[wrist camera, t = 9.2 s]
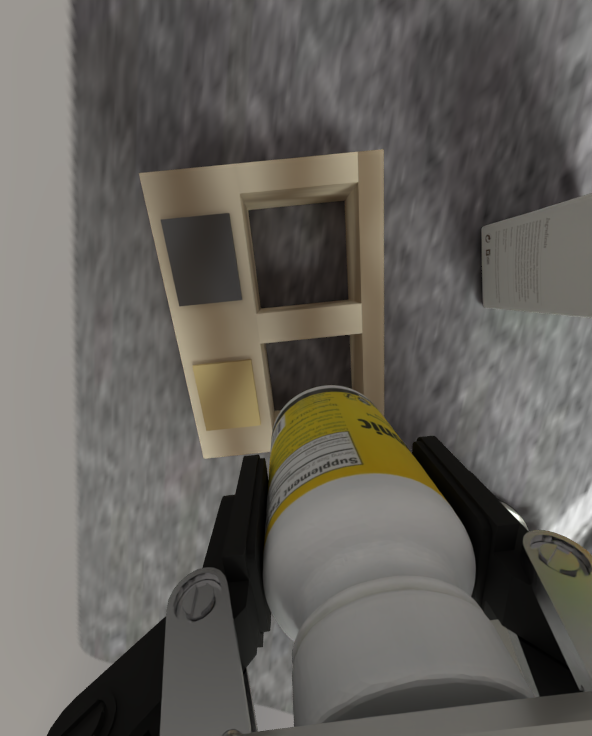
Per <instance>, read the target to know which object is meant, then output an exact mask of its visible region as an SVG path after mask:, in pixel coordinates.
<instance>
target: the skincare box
mask: <svg viewBox="0 0 592 736" xmlns="http://www.w3.org/2000/svg"><path fill="white" fill-rule="evenodd" d="M481 235H482V289H483V307H484V308H491V309H503V310H513V311H524V312H535V313H545V314H556V315H566V316H576V317H587V318H592V193H591V194H587V195H584V196H581V197H577V198H574V199H571V200H568V201H564V202H561V203H558V204H555V205H551V206H548V207H545V208H542V209H539V210H536V211H533V212H529V213H526V214H523V215H519V216H516V217H512V218H509V219H506V220H502V221H499V222H496V223H492V224H489V225H486V226H483V227H482V230H481Z"/></svg>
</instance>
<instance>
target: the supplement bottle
mask: <svg viewBox="0 0 592 736" xmlns="http://www.w3.org/2000/svg"><path fill="white" fill-rule="evenodd" d="M475 573H476V563H475V555H474V551H473V546H472V544H471V541H470V538H469V536H468V533H467V531H466V529H465V527H464V525H463V524H462V522H461V521H460V519H459V518H458V516H457V515H456V513H455V512H454V510H453V508H452V507H451V506H450V504H449V503H448V502H447V500H446V499H445V498H444V496H443V495H442V494H441V492H440V491H439V490H438V488H437V487H436V485H435V484H434V483H433V481H432V480H431V479H430V477H429V476H428V475H427V473H426V472H425V470H424V469H423V468H422V466H421V465H420V464H419V462H418V461H417V460H416V458H415V457H414V456H413V455H412V453H411V452H410V450H409V449H408V448H407V447H406V445H405V444H404V443H403V442H402V440H401V439H400V437H399V436H398V435H397V434H396V432H395V431H394V430H393V428H392V427H391V426H390V424H389V423H388V422H387V420H386V419H385V418H384V417H383V415H382V414H381V413H380V411H379V410H378V409H377V407H376V406H375V405H374V404H373V403H372V402H371V401H370V400H369V399H368V398H367V397H365V396H364V395H362V394H361V393H359V392H357V391H355V390H353V389H350V388H347V387H343V386H336V385H326V386H319V387H315V388H312V389H309V390H306V391H304V392H302V393H300V394H299V395H297V396H295V397H294V398H293V399H291V400H290V401H289V402H288V403H287V404H286V405H285V406H284V407H283V409H282V410H281V412H280V413H279V415H278V417H277V419H276V421H275V423H274V427H273V431H272V438H271V451H270V466H269V481H268V495H267V509H266V523H265V538H264V550H263V587H264V593H265V597H266V600H267V603H268V606H269V608H270V611H271V613H272V615H273V617H274V619H275V620H276V622H277V624H278V625H279V626H280V628H281V629H282V630H283V632H284V633H285V634H286V635H287V636H288V637H289V638H290V639H291V640H293V641H294V646H293V650H292V663H293V671H292V685H293V710H294V727H298V726H306V725H314V724H321V723H329V722H337V721H345V720H353V719H361V718H369V717H376V716H385V715H393V714H401V713H409V712H418V711H426V710H434V709H442V708H450V707H459V706H467V705H476V704H484V703H492V702H501V701H509V700H518V699H526V698H535V695H534V693H533V692H532V690H531V688H530V687H529V685H528V683H527V682H526V680H525V678H524V677H523V675H522V673H521V672H520V670H519V668H518V667H517V665H516V663H515V662H514V660H513V658H512V657H511V655H510V653H509V652H508V650H507V648H506V647H505V645H504V643H503V642H502V640H501V638H500V636H499V634H498V632H497V630H496V628H495V627H494V625H493V624H492V622H491V621H490V620H489V619H488V617H487V616H486V615H485V614H484V612H483V610H482V609H481V608H480V606H479V605H478V604H477V603H476V601H475V600H474V599H473V598H472V597H471V596H472V592H473V588H474V584H475Z"/></svg>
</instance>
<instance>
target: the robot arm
mask: <svg viewBox="0 0 592 736" xmlns="http://www.w3.org/2000/svg"><path fill="white" fill-rule="evenodd" d="M412 455H413V456H414V457H415V458H416V460H417V461H418V462H419V464H420V465H421V466H422V468H423V469H424V470H425V472H426V473H427V475H428V476H429V477H430V479H431V480H432V481H433V483H434V484H435V485H436V487H437V488H438V490H439V491H440V492H441V494H442V495H443V496H444V498H445V499H446V500H447V502H448V503H449V504H450V506H451V507H452V508H453V510H454V512H455V513H456V515H457V516H458V518H459V519H460V521H461V522H462V524H463V525H464V527H465V529H466V531H467V533H468V536H469V538H470V541H471V544H472V546H473V551H474V555H475V563H476V573H475V584H474V588H473V592H472V596H471V597H472V598H473V599H474V600H475V601H476V603H477V604H478V605H479V606H480V608H481V609H482V610H483V612H484V614H485V615H486V616H487V617H488V619H489V620H490V621H491V622H492V624H493V625H494V627H495V628H496V630H497V632H498V634H499V636H500V638H501V640H502V642H503V643H504V645H505V647H506V648H507V650H508V652H509V653H510V655H511V657H512V658H513V660H514V662H515V663H516V665H517V667H518V668H519V670H520V672H521V673H522V675H523V677H524V678H525V680H526V682H527V683H528V685H529V687H530V688H531V690H532V692H533V693H534V695H535V698H526V699H518V700H509V701H501V702H492V703H484V704H476V705H467V706H459V707H450V708H442V709H434V710H426V711H418V712H409V713H401V714H393V715H385V716H376V717H369V718H361V719H353V720H345V721H337V722H329V723H321V724H314V725H306V726H298V727H290V728H282V729H274V730H267V731H260V732H258V728H257V723H256V716H255V710H254V704H253V698H252V692H251V686H250V681H249V675H248V669H247V666H248V665H249V663H250V662H251V661H252V660H253V658H254V657H255V656H256V654H257V648H258V647H263V634H264V632H267V631H270V626H271V611H270V608H269V606H268V603H267V600H266V597H265V593H264V587H263V550H264V538H265V523H266V509H267V495H268V474H267V468H266V461H265V458H261V459H260V456H259V455H251V456H244V458H243V462H242V467H241V471H240V476H239V480H238V485H237V489H236V494H235V495H228V496H223V498H222V500H221V503H220V507H219V510H218V514H217V518H216V521H215V525H214V528H213V532H212V536H211V539H210V543H209V546H208V550H207V553H206V557H205V561H204V564H203V568H201V569H197V570H195V571H193V572H192V573H190V574H188V575H187V576H186V577H184V578H183V579H182V580H181V581H180V582H179V583H178V585H177V586H176V587H175V588H174V590H173V592H172V594H171V596H170V598H169V600H168V605H167V610H166V617H165V618H163V619H162V620H161V621H160V622H159V623H158V624H157V625H156V626H155V627H153V628H152V629H151V630H150V631H149V632H148V633H147V634H146V635H145V636H143V637H142V638H141V639H140V640H139V641H138V642H137V643H136V644H135V645H133V646H132V647H131V648H130V649H129V650H128V651H127V652H126V653H125V654H123V655H122V656H121V657H120V658H119V659H118V660H117V661H116V662H115V663H114V664H112V665H111V666H110V667H109V668H108V669H107V670H106V671H105V672H104V673H103V674H101V675H100V676H99V677H98V678H97V679H96V680H95V681H94V682H93V683H91V684H90V685H89V686H88V687H87V688H86V689H85V690H84V691H83V692H82V693H80V694H79V695H78V696H77V697H76V698H75V699H74V700H73V701H72V702H71V703H70V704H69V705H68V706H67V707H66V708H65V709H64V711H63V712H62V713H61V715H60V716H59V717H58V719H57V720H56V721H55V723H54V724H53V726H52V727H51V728H50V730H49V732H48V734H47V736H592V555H591V554H590V553H589V552H588V551H587V550H585V549H584V548H583V547H581V546H580V545H579V544H577V543H576V542H574V541H572V540H570V539H569V538H567V537H564V536H562V535H559V534H557V533H554V532H550V531H545V530H533V531H530V532H529V531H528V528H527V525H526V524H525V522H524V520H523V519H522V518H521V517H520V516H519V514H518V513H517V512H516V511H515V510H514V509H512V508H511V507H510V506H508V505H507V504H505V503H503V502H501V501H499V500H498V499H497V498H496V497H495V496H494V495H493V494H492V493H491V492H490V491H489V490H488V489H487V488H486V487H485V486H484V485H483V484H482V483H481V482H480V481H479V480H478V479H477V477H476V476H475V475H474V474H473V473H471V472H470V471H469V470H467V469H466V468H465V467H464V466H463V464H462V463H461V462H460V461H459V460H458V459H457V458H456V457H455V456H454V455H453V454H452V453H451V452H450V451H449V450H448V449H447V448H446V447H445V446H444V445H443V444H442V443H441V442H440V441H439V440H438V439H437V438H436V437H435V436H426V437H419V438H418V439H417V442H413V450H412Z"/></svg>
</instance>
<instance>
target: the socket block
mask: <svg viewBox="0 0 592 736" xmlns="http://www.w3.org/2000/svg"><path fill="white" fill-rule="evenodd" d="M139 176H140V181H141V185H142V189H143V194H144V198H145V203H146V207H147V211H148V216H149V220H150V224H151V229H152V233H153V238H154V242H155V246H156V251H157V255H158V260H159V264H160V268H161V273H162V277H163V281H164V286H165V290H166V295H167V299H168V303H169V308H170V312H171V317H172V321H173V325H174V330H175V334H176V338H177V343H178V347H179V352H180V356H181V360H182V365H183V369H184V374H185V378H186V382H187V387H188V391H189V395H190V400H191V404H192V409H193V413H194V417H195V422H196V426H197V431H198V435H199V439H200V444H201V448H202V452H203V457H204V459H206V458H216V457H225V456H234V455H244V454H253V453H263V452H270V451H271V438H272V431H273V427H274V423H275V421H276V419H277V417H278V415H279V413H280V412H281V410H277V411H274V403H273V396H272V388H271V380H270V373H269V365H268V358H267V350H266V343H272V342H282V341H292V340H302V339H311V338H321V337H331V336H340V335H350V353H351V379H352V389H353V390H355V391H357V392H359V393H361V394H362V395H364V396H365V397H367V398H368V399H369V400H370V401H371V402H372V403H373V404H374V405H375V406H376V407H377V409H378V410H379V411H380V413H381V414H382V415H383V417H384V149H381V150H371V151H361V152H350V153H340V154H330V155H320V156H309V157H299V158H289V159H279V160H268V161H258V162H248V163H238V164H228V165H217V166H207V167H197V168H187V169H176V170H166V171H156V172H146V173H139ZM336 201H345V226H346V252H347V277H348V300H339V301H330V302H320V303H310V304H300V305H290V306H281V307H271V308H261V304H260V297H259V289H258V282H257V274H256V267H255V259H254V251H253V244H252V236H251V229H250V221H249V213H248V210H255V209H265V208H275V207H285V206H295V205H305V204H315V203H325V202H336Z"/></svg>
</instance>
